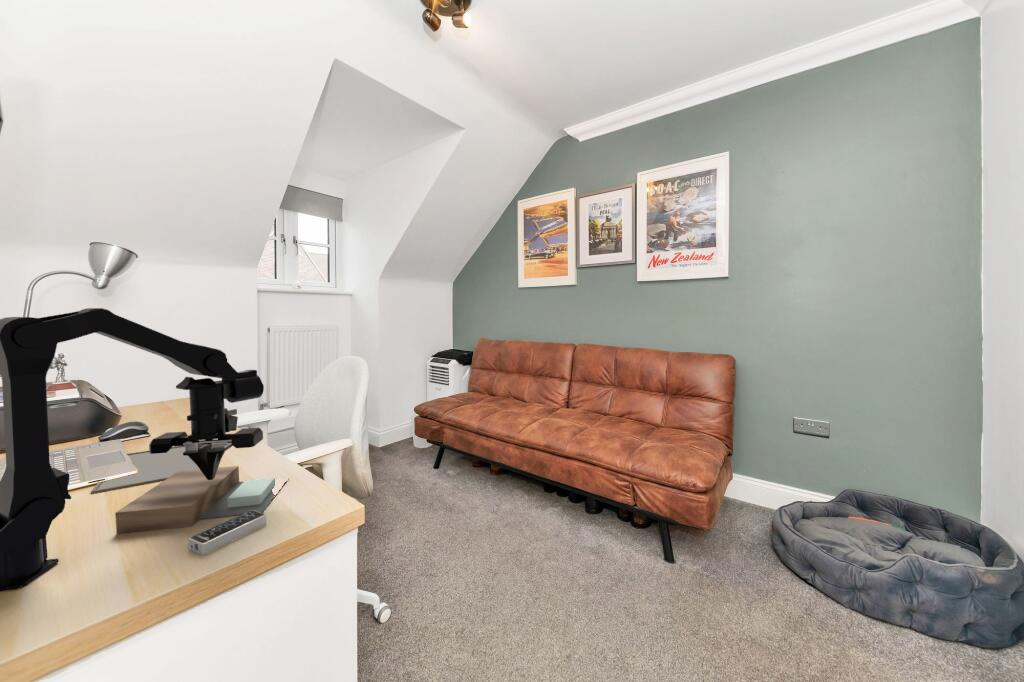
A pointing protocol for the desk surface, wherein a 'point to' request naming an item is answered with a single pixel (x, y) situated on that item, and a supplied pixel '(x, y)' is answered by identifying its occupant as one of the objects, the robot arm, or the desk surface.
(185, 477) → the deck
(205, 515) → the mat
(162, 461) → the thin grey panel
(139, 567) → the desk surface
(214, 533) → the multiport hub
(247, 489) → the block
